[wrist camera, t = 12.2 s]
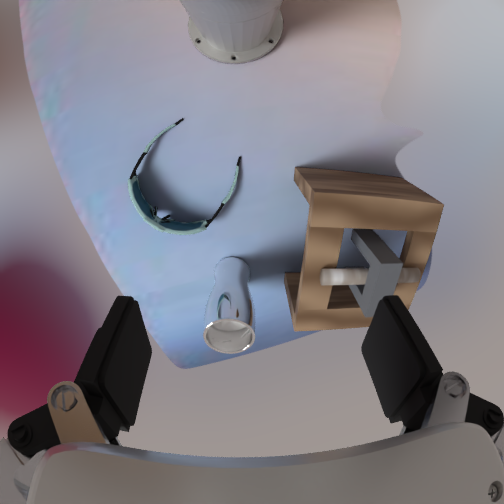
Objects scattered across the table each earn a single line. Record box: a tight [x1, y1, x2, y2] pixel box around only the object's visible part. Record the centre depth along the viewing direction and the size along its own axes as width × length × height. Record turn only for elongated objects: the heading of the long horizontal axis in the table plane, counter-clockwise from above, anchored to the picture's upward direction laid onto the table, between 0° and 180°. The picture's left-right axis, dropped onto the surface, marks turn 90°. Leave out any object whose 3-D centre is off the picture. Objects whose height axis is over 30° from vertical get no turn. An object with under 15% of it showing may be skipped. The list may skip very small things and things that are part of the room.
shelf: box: [284, 167, 444, 331], centre depth 38 cm, size 20×18×14 cm
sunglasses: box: [128, 118, 241, 235], centre depth 38 cm, size 14×15×5 cm
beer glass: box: [203, 257, 255, 354], centre depth 41 cm, size 7×7×15 cm
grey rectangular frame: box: [345, 229, 403, 317], centre depth 34 cm, size 8×3×9 cm, turn 179°
